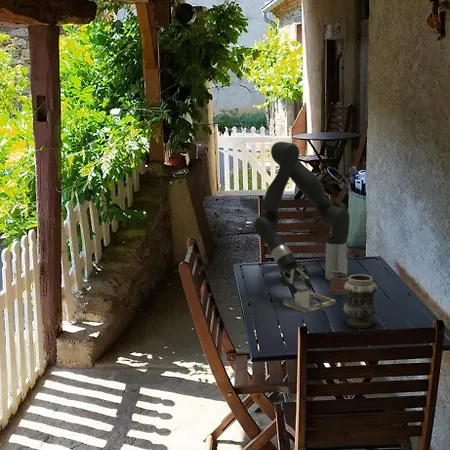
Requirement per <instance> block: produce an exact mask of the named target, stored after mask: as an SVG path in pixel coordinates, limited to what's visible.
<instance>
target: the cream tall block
mask: <svg viewBox="0 0 450 450" xmlns="http://www.w3.org/2000/svg"><path fill="white" fill-rule="evenodd" d="M295 288H296V289H297V293H296V294H294V297H295V302H294V303H295V304H298V305H301V306H303V307H309V306H310V305H309V299H310V298H309V293H310V290H309V287H307V286H306V285H300V286H299V285H298V286H295Z"/></svg>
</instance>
